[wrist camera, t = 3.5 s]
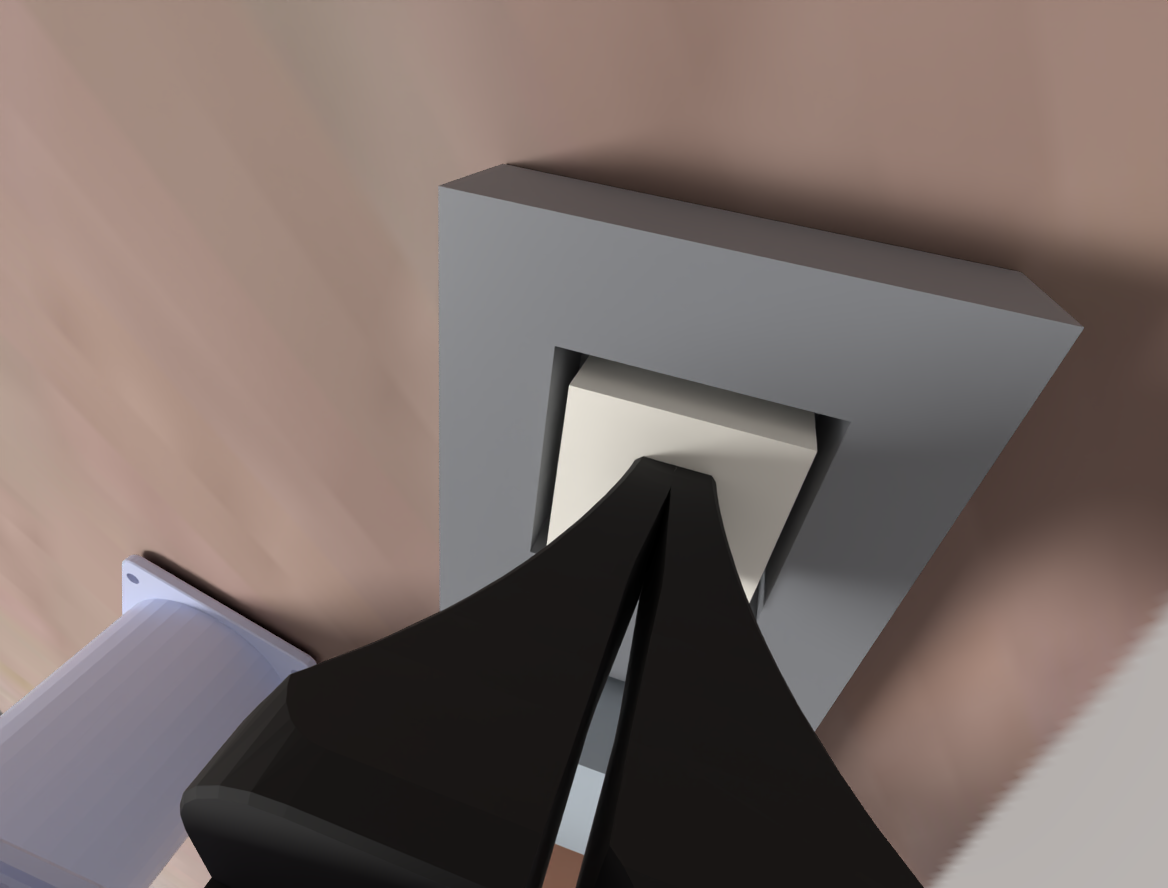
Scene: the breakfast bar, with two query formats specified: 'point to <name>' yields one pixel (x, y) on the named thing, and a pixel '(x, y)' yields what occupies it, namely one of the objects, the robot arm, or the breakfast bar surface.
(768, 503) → the cream key
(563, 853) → the terracotta key
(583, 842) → the slate key
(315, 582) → the breakfast bar surface
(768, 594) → the key panel
